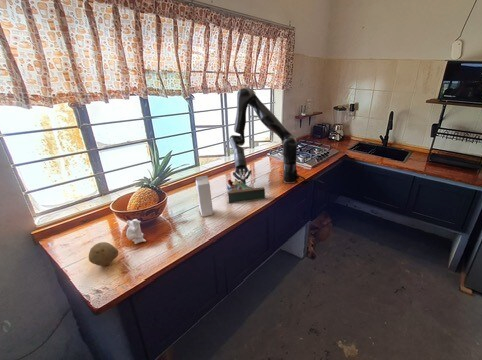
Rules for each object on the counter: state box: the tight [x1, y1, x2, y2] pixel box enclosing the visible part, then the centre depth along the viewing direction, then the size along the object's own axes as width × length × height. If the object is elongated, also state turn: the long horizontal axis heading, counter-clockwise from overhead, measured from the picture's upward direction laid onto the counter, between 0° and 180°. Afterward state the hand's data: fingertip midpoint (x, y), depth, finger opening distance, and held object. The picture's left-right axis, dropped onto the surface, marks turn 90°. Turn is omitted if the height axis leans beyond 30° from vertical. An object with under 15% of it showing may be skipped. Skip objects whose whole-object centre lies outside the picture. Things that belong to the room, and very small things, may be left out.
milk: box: [195, 175, 214, 218], centre depth 131 cm, size 6×6×22 cm
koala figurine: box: [125, 218, 147, 245], centre depth 110 cm, size 8×7×12 cm
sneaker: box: [226, 178, 253, 193], centre depth 156 cm, size 8×21×10 cm, turn 72°
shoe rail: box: [227, 186, 266, 204], centre depth 150 cm, size 22×3×7 cm, turn 107°
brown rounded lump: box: [88, 241, 119, 267], centre depth 97 cm, size 9×9×10 cm
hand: (243, 185), depth 159 cm, fingers closed
